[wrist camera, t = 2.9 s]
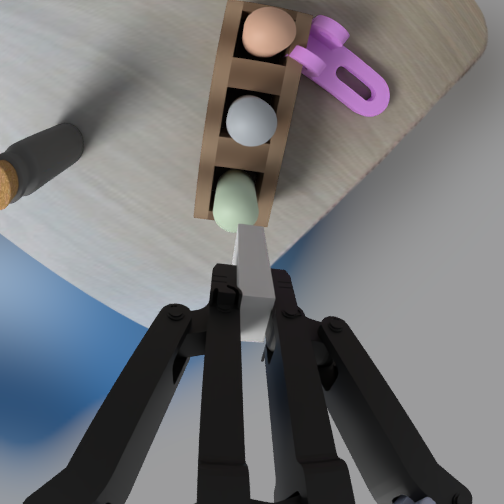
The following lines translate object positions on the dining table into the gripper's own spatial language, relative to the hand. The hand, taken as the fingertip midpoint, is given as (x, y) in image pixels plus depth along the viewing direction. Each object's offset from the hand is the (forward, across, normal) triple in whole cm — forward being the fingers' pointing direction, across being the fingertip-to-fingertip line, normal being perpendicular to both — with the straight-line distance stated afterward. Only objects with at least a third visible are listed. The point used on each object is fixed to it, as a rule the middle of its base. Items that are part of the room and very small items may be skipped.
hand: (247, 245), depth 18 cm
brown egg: (+15, 0, +14) cm, 21 cm away
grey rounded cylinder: (+15, 0, +6) cm, 16 cm away
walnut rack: (+19, 0, +6) cm, 20 cm away
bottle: (+20, -23, +1) cm, 30 cm away
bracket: (+19, +9, +13) cm, 25 cm away
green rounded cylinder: (+15, -1, -2) cm, 15 cm away
